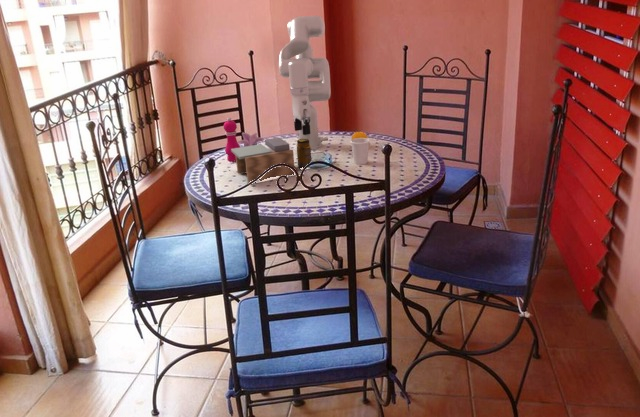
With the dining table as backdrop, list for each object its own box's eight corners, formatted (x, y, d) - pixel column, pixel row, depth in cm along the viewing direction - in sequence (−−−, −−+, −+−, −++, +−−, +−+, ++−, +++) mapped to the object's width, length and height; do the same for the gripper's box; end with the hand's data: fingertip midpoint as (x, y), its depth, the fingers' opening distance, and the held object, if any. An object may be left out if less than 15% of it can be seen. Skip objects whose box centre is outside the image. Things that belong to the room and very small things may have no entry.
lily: (269, 151, 269) (265, 132, 271) (256, 147, 259) (253, 128, 260) (248, 157, 274) (245, 139, 275) (235, 154, 263) (232, 135, 265)
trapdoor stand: (284, 164, 243) (282, 140, 239) (298, 175, 227) (296, 149, 223) (237, 173, 235) (234, 148, 231) (248, 184, 220) (245, 158, 216)
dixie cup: (360, 158, 244) (359, 136, 240) (374, 161, 238) (373, 139, 234) (347, 163, 238) (346, 141, 235) (361, 166, 233) (360, 143, 229)
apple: (363, 149, 257) (362, 134, 254) (348, 148, 261) (347, 133, 258) (370, 145, 263) (370, 130, 260) (356, 144, 267) (355, 129, 264)
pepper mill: (239, 162, 251) (233, 119, 244) (224, 162, 253) (218, 119, 245) (244, 157, 258) (239, 115, 250) (229, 157, 259) (224, 115, 252)
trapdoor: (279, 147, 237) (278, 137, 236) (290, 154, 225) (289, 144, 223) (231, 155, 230) (230, 145, 228) (240, 163, 218) (239, 152, 216)
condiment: (310, 163, 242) (308, 137, 238) (316, 168, 235) (314, 141, 230) (294, 166, 240) (292, 139, 236) (300, 171, 232) (298, 143, 228)
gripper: (315, 92, 219) (318, 134, 225) (300, 88, 234) (303, 127, 240) (298, 95, 216) (301, 137, 222) (284, 90, 231) (287, 130, 237)
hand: (302, 132), depth 231 cm, fingers open, 9 cm apart
